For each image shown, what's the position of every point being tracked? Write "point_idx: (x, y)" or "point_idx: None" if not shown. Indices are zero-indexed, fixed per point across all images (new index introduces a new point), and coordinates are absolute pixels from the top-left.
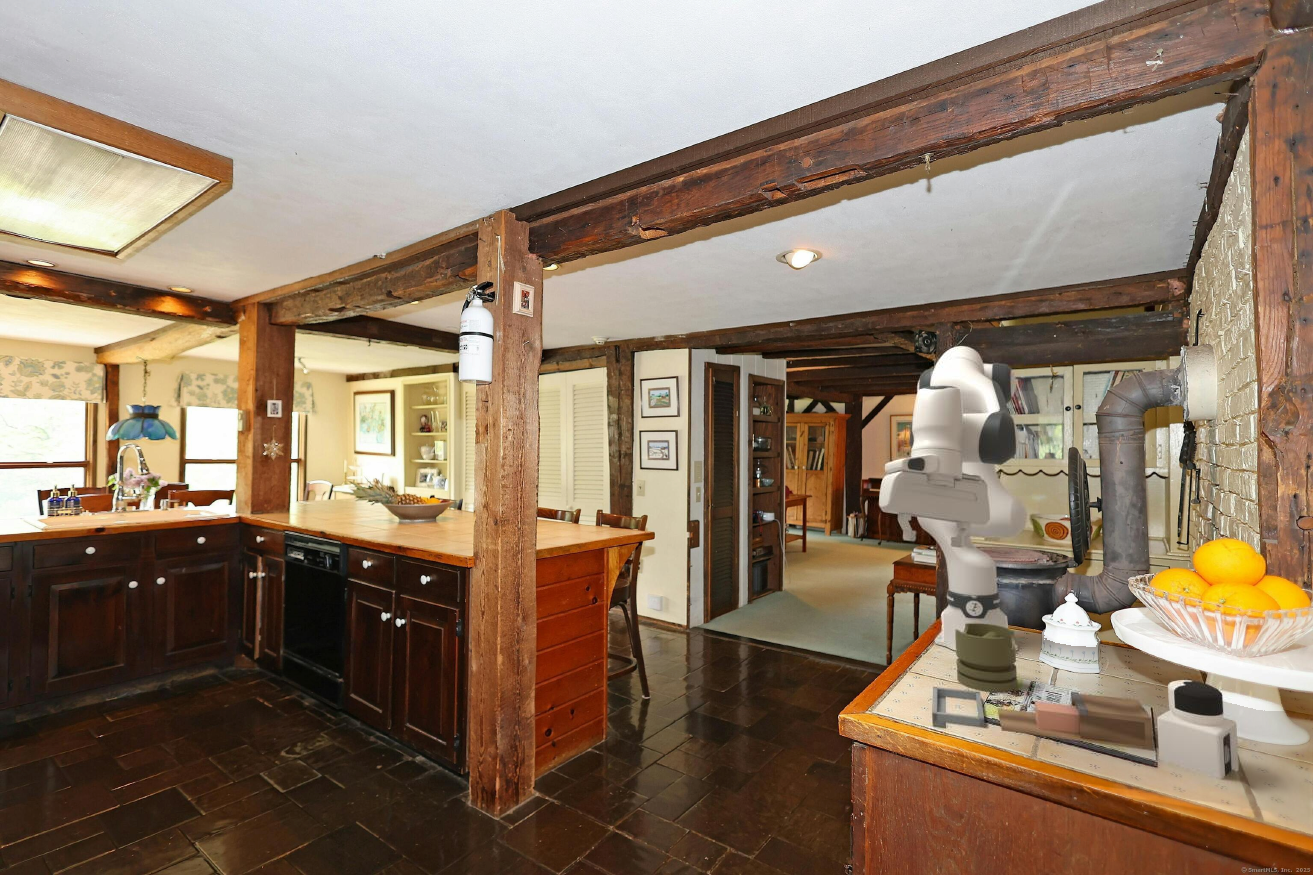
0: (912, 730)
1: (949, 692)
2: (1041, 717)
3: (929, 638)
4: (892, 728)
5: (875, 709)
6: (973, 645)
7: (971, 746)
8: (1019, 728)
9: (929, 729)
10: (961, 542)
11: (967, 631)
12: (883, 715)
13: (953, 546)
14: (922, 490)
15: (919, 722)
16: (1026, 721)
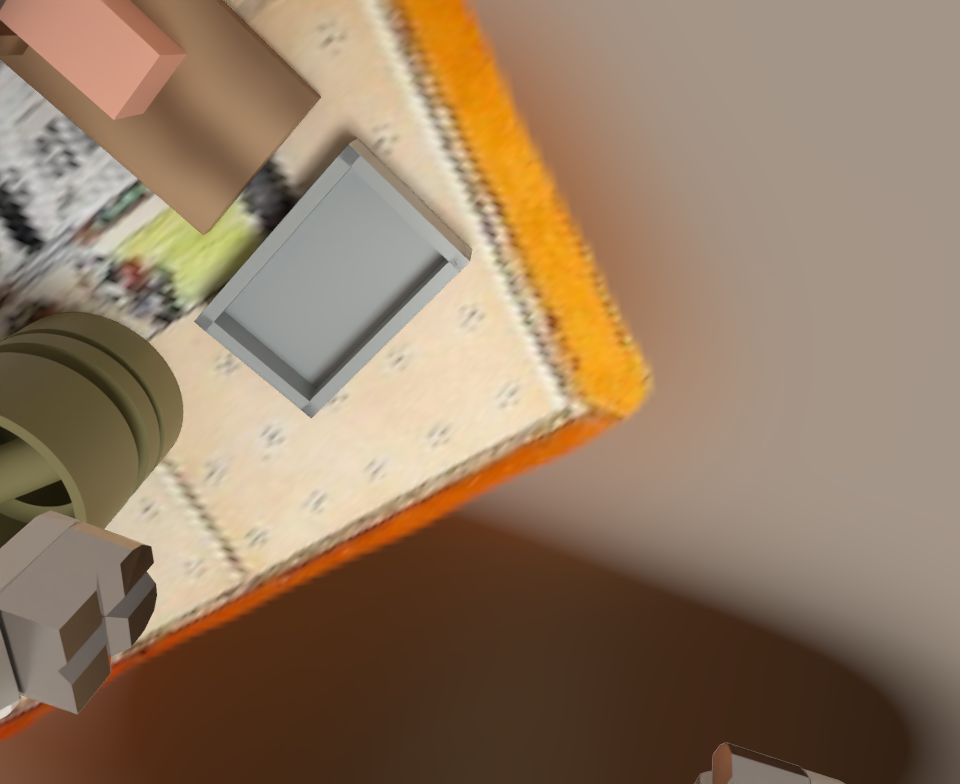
0: (553, 252)
1: (282, 373)
2: (162, 46)
3: (8, 735)
4: (598, 289)
5: (544, 413)
6: (87, 450)
7: (471, 82)
8: (251, 81)
9: (499, 235)
10: (43, 553)
11: None
12: (554, 371)
13: (150, 581)
14: None
15: (490, 287)
16: (188, 112)
